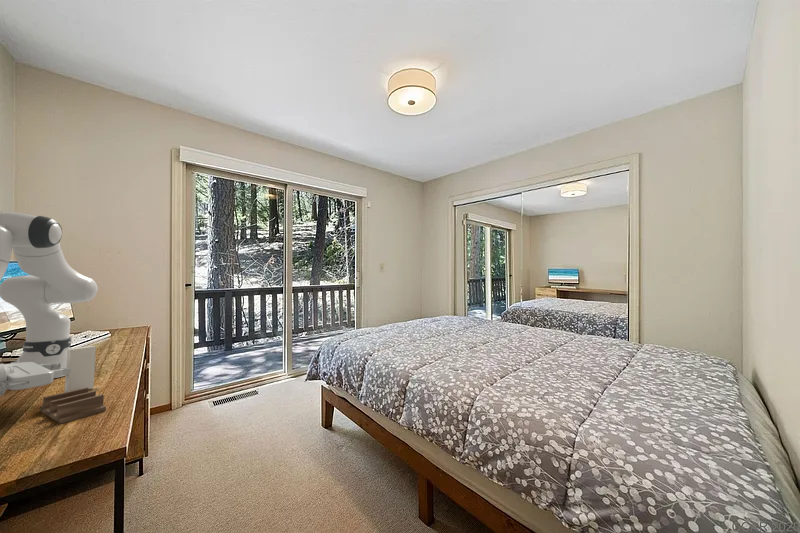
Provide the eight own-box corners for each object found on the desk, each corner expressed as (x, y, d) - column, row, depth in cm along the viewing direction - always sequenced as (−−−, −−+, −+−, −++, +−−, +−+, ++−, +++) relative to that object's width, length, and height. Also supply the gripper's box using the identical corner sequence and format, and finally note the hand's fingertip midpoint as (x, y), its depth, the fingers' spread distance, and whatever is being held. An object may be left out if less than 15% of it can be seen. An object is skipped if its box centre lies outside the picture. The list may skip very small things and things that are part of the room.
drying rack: (40, 410, 86) (41, 396, 86) (83, 399, 94) (84, 386, 94) (60, 423, 79) (61, 407, 79) (105, 410, 87) (106, 396, 87)
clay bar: (64, 392, 97) (67, 348, 98) (90, 386, 102) (92, 345, 103) (67, 393, 95) (70, 349, 96) (93, 388, 101) (96, 346, 101)
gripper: (3, 375, 78) (78, 362, 91) (-15, 364, 88) (54, 353, 100) (2, 399, 78) (76, 383, 90) (-17, 385, 88) (53, 372, 100)
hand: (65, 367), depth 95 cm, fingers open, 8 cm apart
